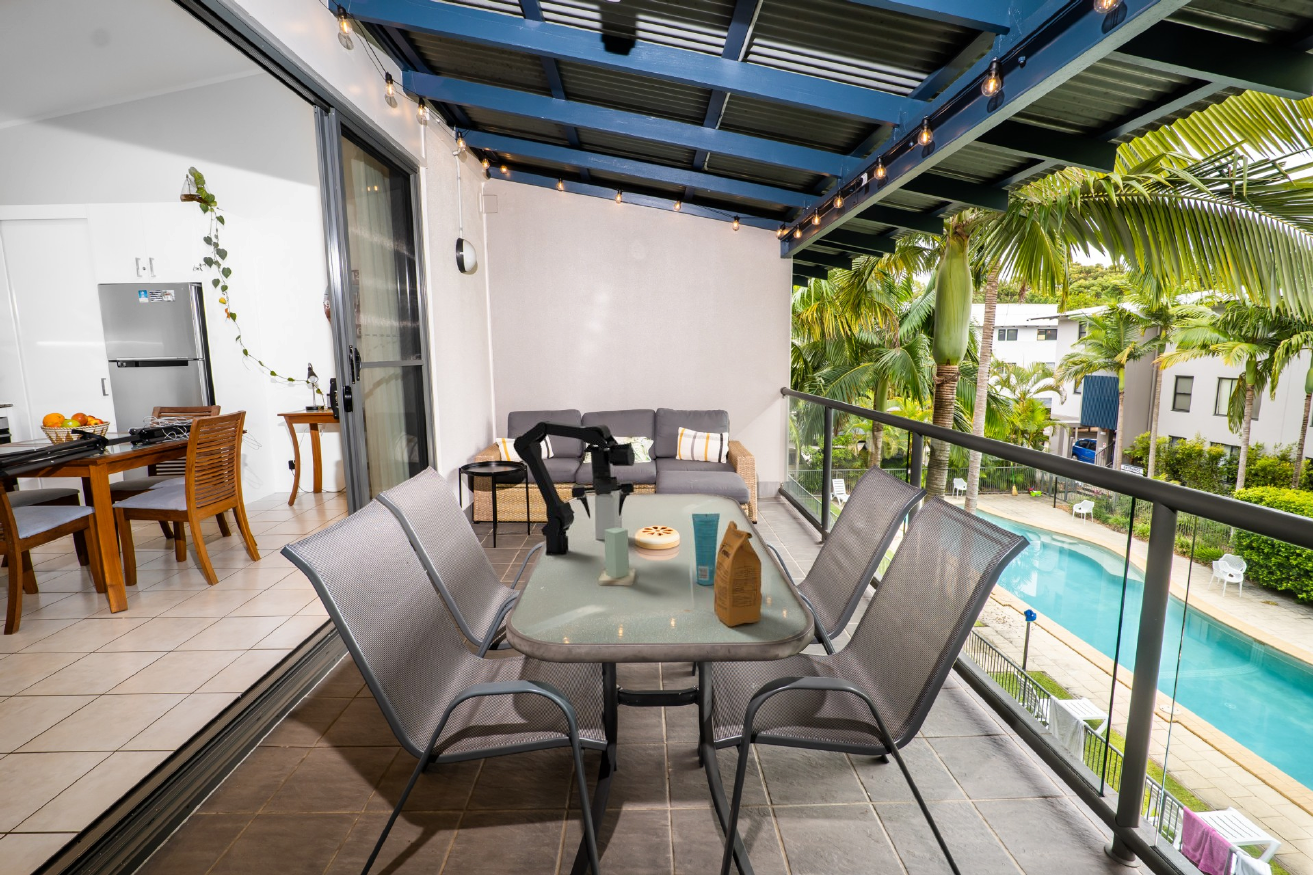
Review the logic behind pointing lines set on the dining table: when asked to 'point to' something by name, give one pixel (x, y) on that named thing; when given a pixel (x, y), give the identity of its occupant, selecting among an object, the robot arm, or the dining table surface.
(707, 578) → the tube
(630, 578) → the slab top
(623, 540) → the post
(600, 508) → the milk carton
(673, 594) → the dining table surface
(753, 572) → the coffee package
